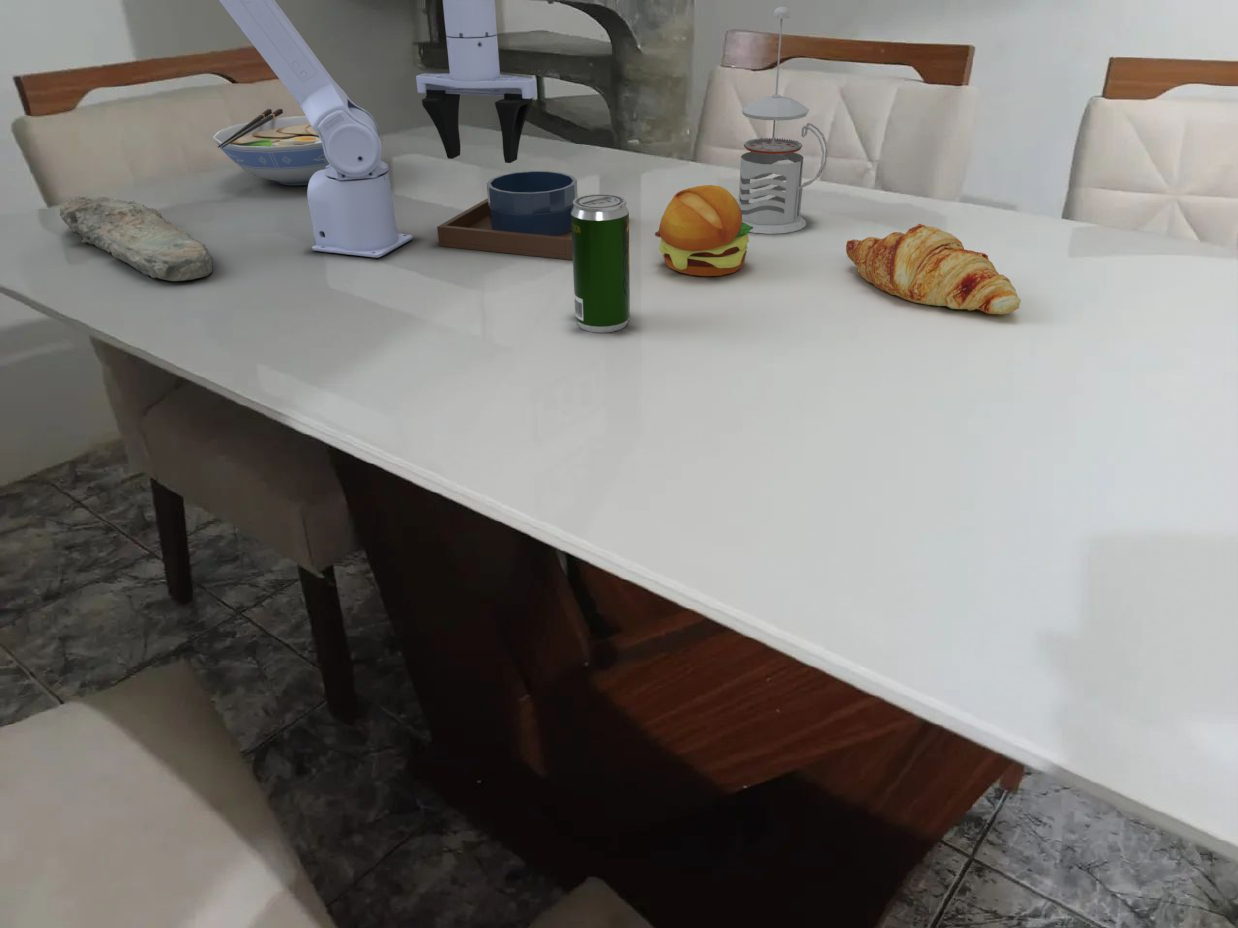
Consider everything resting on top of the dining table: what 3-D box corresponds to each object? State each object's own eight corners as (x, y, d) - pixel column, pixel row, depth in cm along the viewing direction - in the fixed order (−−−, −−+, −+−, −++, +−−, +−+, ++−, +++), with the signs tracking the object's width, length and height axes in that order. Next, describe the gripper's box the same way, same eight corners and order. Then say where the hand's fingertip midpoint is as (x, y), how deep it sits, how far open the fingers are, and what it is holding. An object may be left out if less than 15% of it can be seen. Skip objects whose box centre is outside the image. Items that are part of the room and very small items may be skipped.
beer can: (594, 338, 89) (590, 213, 82) (565, 320, 93) (559, 199, 86) (640, 325, 91) (640, 203, 85) (610, 309, 95) (608, 190, 89)
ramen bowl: (356, 201, 132) (347, 141, 127) (196, 203, 132) (181, 143, 128) (395, 160, 153) (388, 107, 149) (257, 161, 153) (246, 109, 149)
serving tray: (438, 246, 114) (436, 226, 112) (499, 209, 127) (498, 191, 126) (572, 260, 108) (571, 240, 107) (621, 220, 122) (620, 202, 120)
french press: (744, 208, 126) (755, 2, 113) (829, 218, 121) (850, 4, 108) (718, 228, 118) (727, 9, 105) (807, 239, 114) (828, 12, 101)
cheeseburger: (763, 254, 108) (763, 175, 101) (732, 306, 102) (731, 224, 95) (681, 243, 112) (676, 165, 105) (647, 292, 105) (639, 212, 98)
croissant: (1023, 346, 94) (1061, 270, 92) (982, 325, 87) (1022, 242, 85) (856, 286, 108) (885, 219, 106) (808, 263, 101) (839, 192, 99)
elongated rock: (151, 305, 101) (240, 287, 108) (141, 258, 99) (233, 242, 105) (45, 224, 122) (124, 212, 128) (34, 183, 119) (116, 173, 126)
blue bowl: (481, 237, 114) (477, 192, 111) (502, 212, 124) (498, 170, 121) (569, 240, 113) (567, 194, 110) (584, 214, 122) (582, 171, 120)
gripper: (544, 33, 106) (550, 155, 113) (432, 30, 111) (444, 148, 118) (518, 40, 101) (526, 169, 108) (401, 37, 105) (416, 160, 112)
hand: (482, 159), depth 112 cm, fingers open, 7 cm apart
